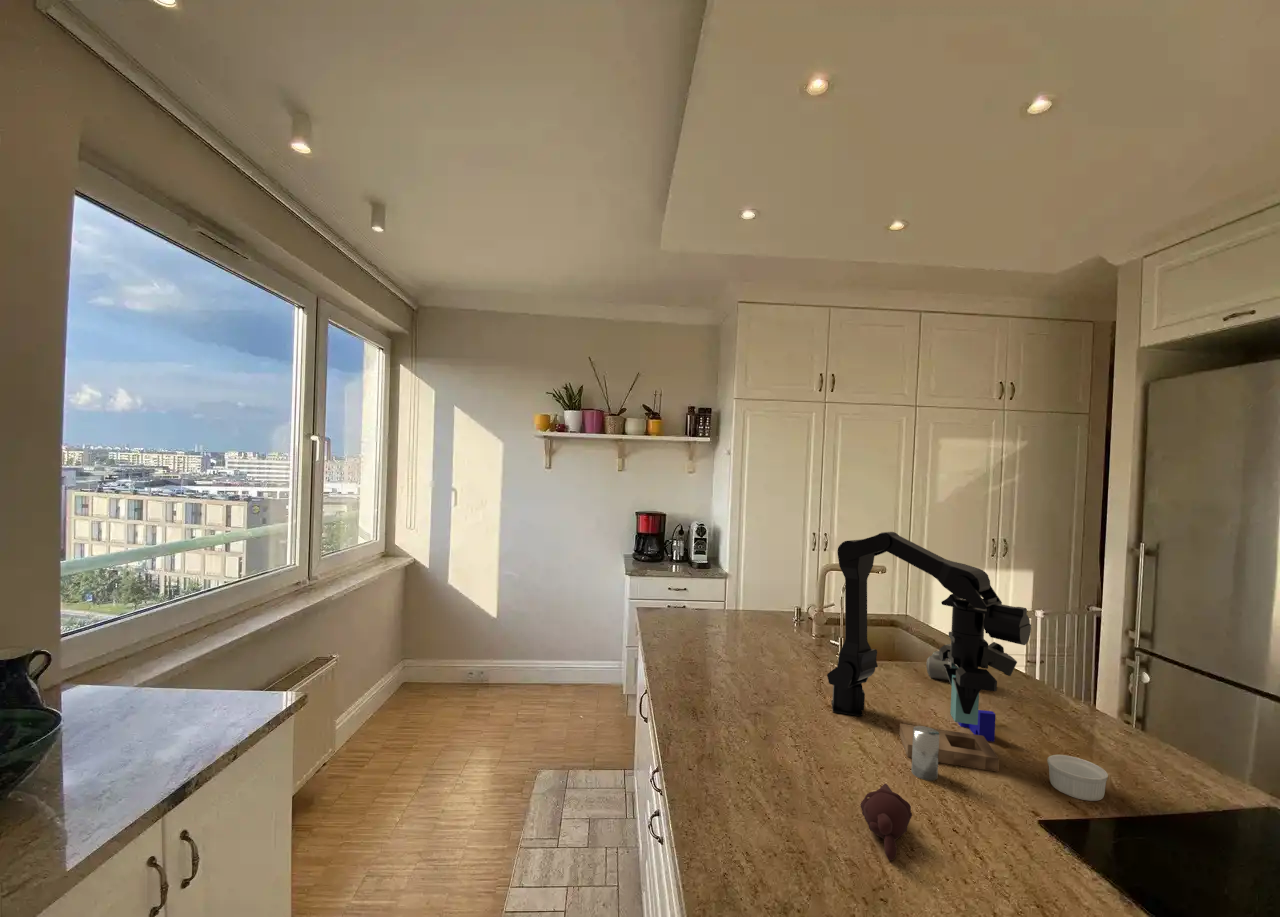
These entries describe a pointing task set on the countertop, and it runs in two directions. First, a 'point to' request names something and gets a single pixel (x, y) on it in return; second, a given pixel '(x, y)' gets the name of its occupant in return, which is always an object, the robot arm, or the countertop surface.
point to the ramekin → (1077, 777)
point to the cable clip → (983, 725)
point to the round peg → (925, 753)
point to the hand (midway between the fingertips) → (963, 709)
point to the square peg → (958, 711)
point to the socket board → (957, 748)
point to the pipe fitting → (937, 666)
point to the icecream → (886, 816)
